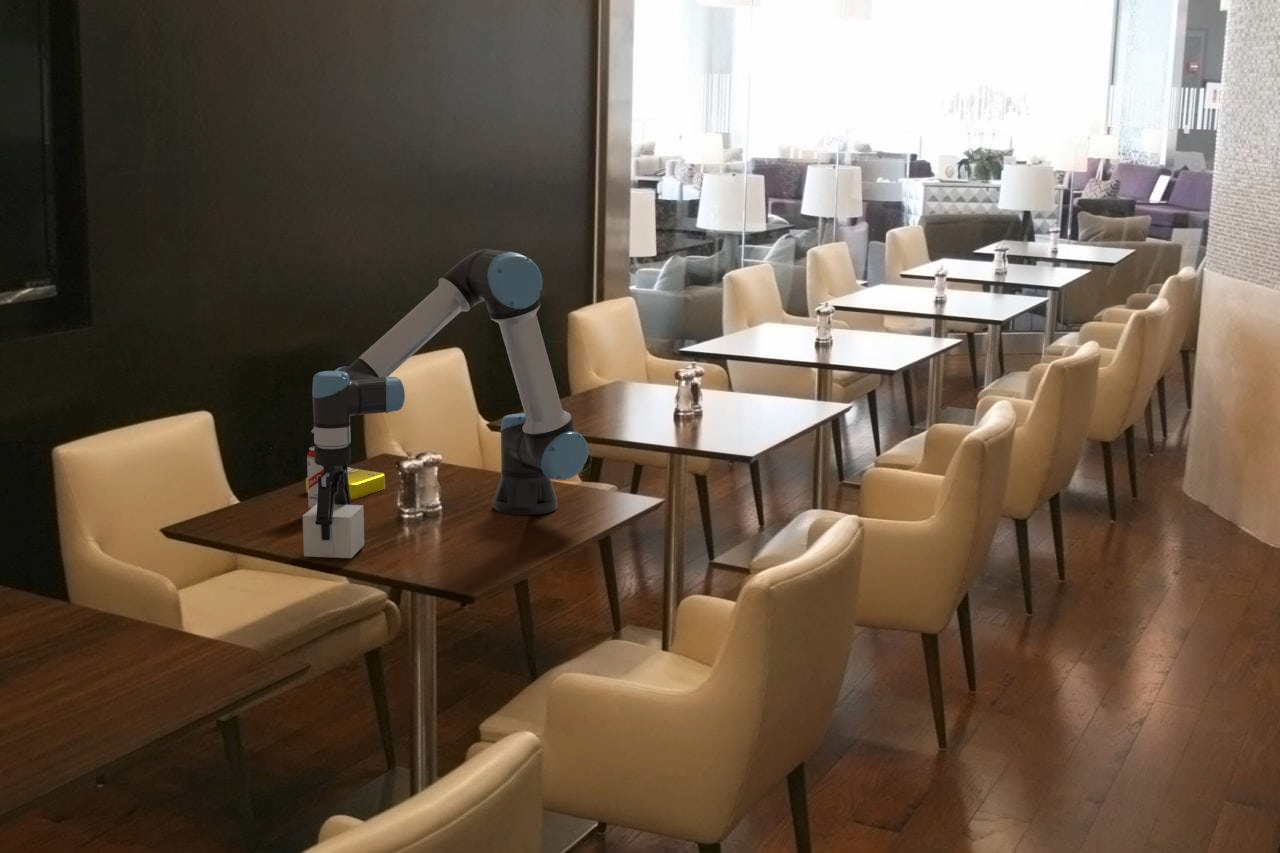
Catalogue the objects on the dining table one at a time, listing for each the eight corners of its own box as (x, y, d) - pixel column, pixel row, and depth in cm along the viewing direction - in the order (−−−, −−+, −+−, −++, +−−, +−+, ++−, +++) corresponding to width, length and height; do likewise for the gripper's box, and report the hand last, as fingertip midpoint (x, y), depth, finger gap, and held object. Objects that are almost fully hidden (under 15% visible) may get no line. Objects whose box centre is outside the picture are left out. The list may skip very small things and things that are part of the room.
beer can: (332, 518, 347) (330, 451, 344) (305, 517, 347) (303, 450, 344) (338, 511, 353) (336, 445, 350) (312, 511, 354) (310, 444, 350)
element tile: (302, 494, 370) (302, 476, 369) (341, 482, 383) (340, 464, 382) (350, 502, 364) (350, 483, 363) (388, 490, 377) (388, 471, 376)
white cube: (364, 544, 324) (363, 505, 322) (351, 558, 314) (350, 517, 312) (318, 543, 324) (317, 503, 323) (303, 556, 314) (302, 515, 313)
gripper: (330, 433, 326) (332, 531, 330) (298, 456, 304) (301, 561, 308) (364, 434, 325) (366, 533, 330) (334, 457, 303) (336, 562, 307)
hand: (334, 546), depth 319 cm, fingers closed on white cube, 10 cm apart
